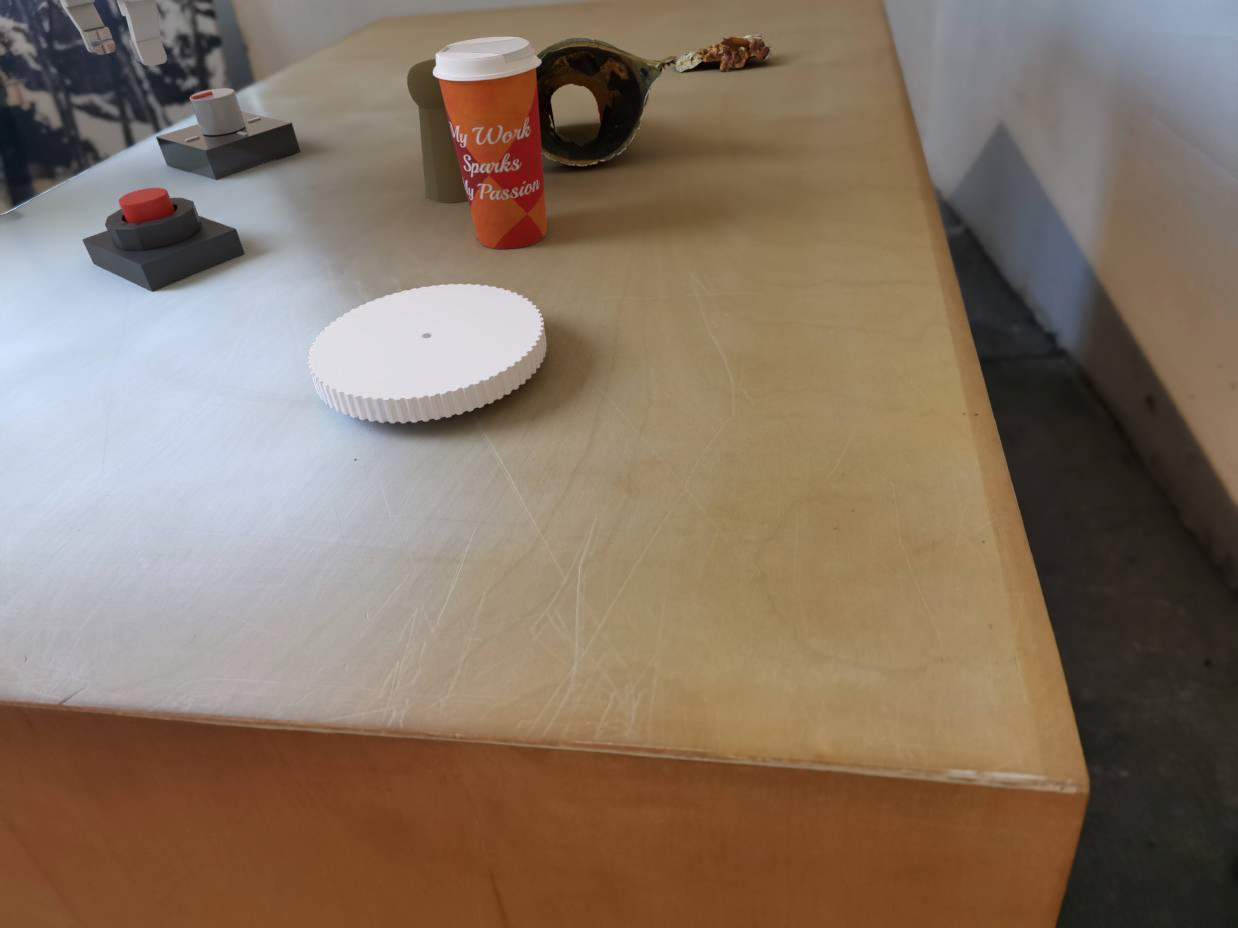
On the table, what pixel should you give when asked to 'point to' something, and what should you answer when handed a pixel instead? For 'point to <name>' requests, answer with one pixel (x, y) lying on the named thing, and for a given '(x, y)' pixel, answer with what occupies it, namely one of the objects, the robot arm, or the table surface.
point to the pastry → (727, 53)
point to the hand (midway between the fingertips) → (127, 58)
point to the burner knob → (217, 111)
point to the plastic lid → (427, 353)
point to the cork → (435, 137)
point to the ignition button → (146, 205)
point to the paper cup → (496, 136)
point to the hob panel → (229, 147)
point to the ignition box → (163, 246)
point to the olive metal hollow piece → (595, 95)
